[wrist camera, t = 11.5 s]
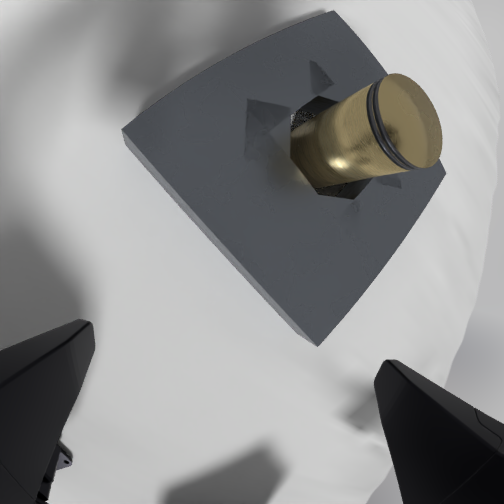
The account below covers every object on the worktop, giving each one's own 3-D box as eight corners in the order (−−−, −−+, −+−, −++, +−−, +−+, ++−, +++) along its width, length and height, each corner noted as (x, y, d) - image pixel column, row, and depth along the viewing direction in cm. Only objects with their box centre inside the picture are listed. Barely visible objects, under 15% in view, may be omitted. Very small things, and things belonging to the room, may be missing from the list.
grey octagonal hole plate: (297, 333, 22) (317, 347, 19) (125, 144, 17) (121, 129, 14) (423, 176, 26) (446, 173, 23) (316, 26, 21) (333, 10, 18)
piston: (282, 184, 20) (383, 156, 11) (283, 119, 20) (372, 58, 11) (340, 191, 22) (446, 176, 13) (339, 131, 22) (435, 93, 12)
